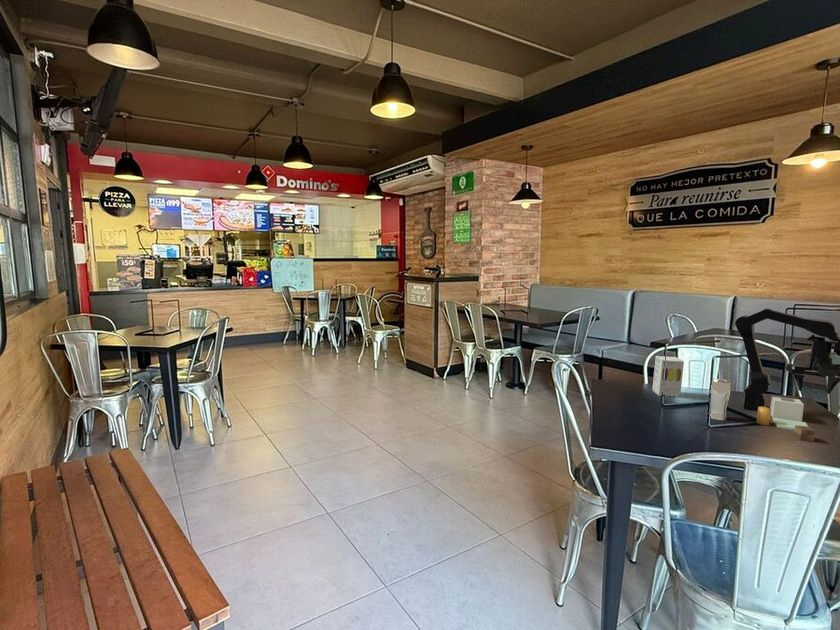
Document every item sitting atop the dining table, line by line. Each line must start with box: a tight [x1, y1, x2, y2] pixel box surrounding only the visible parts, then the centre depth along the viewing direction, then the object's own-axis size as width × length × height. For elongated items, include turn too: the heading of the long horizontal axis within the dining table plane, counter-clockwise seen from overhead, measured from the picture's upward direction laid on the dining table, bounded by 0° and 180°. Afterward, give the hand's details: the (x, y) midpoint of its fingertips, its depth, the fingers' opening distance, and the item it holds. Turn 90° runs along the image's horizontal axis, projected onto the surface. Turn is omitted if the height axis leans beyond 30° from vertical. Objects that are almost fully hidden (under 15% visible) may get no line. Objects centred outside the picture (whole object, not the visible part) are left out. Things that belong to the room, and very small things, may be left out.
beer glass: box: [708, 378, 732, 421], centre depth 179 cm, size 7×7×15 cm
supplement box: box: [652, 355, 685, 398], centre depth 209 cm, size 10×9×17 cm
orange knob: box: [756, 406, 772, 426], centre depth 174 cm, size 4×4×6 cm
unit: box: [769, 395, 805, 422], centre depth 181 cm, size 9×7×7 cm
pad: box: [771, 417, 810, 431], centre depth 172 cm, size 10×10×1 cm
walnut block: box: [793, 425, 816, 443], centre depth 160 cm, size 4×4×4 cm
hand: (813, 392), depth 178 cm, fingers open, 9 cm apart
